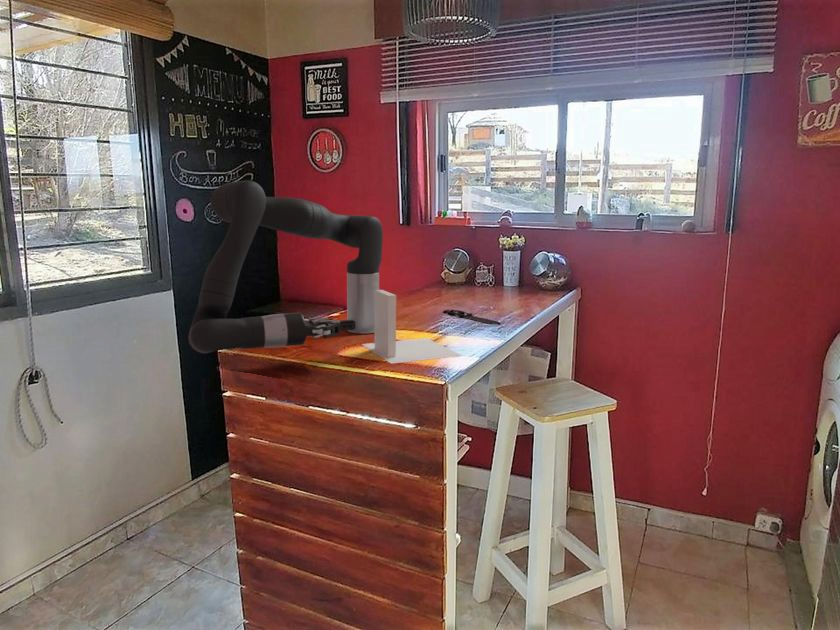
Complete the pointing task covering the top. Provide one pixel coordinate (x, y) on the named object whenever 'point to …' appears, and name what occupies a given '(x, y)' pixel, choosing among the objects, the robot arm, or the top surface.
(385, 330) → the tile
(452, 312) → the knife
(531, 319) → the top surface
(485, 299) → the top surface
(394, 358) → the mat
